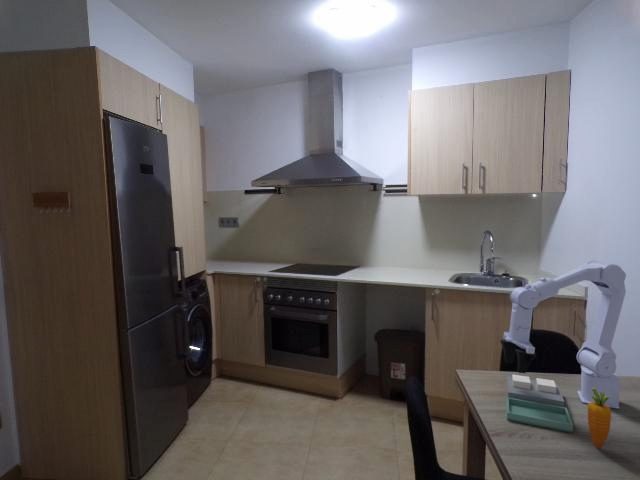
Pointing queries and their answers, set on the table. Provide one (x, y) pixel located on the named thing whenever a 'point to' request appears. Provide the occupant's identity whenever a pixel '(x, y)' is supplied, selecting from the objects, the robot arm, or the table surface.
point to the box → (539, 414)
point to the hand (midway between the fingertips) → (515, 367)
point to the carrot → (599, 419)
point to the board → (534, 394)
